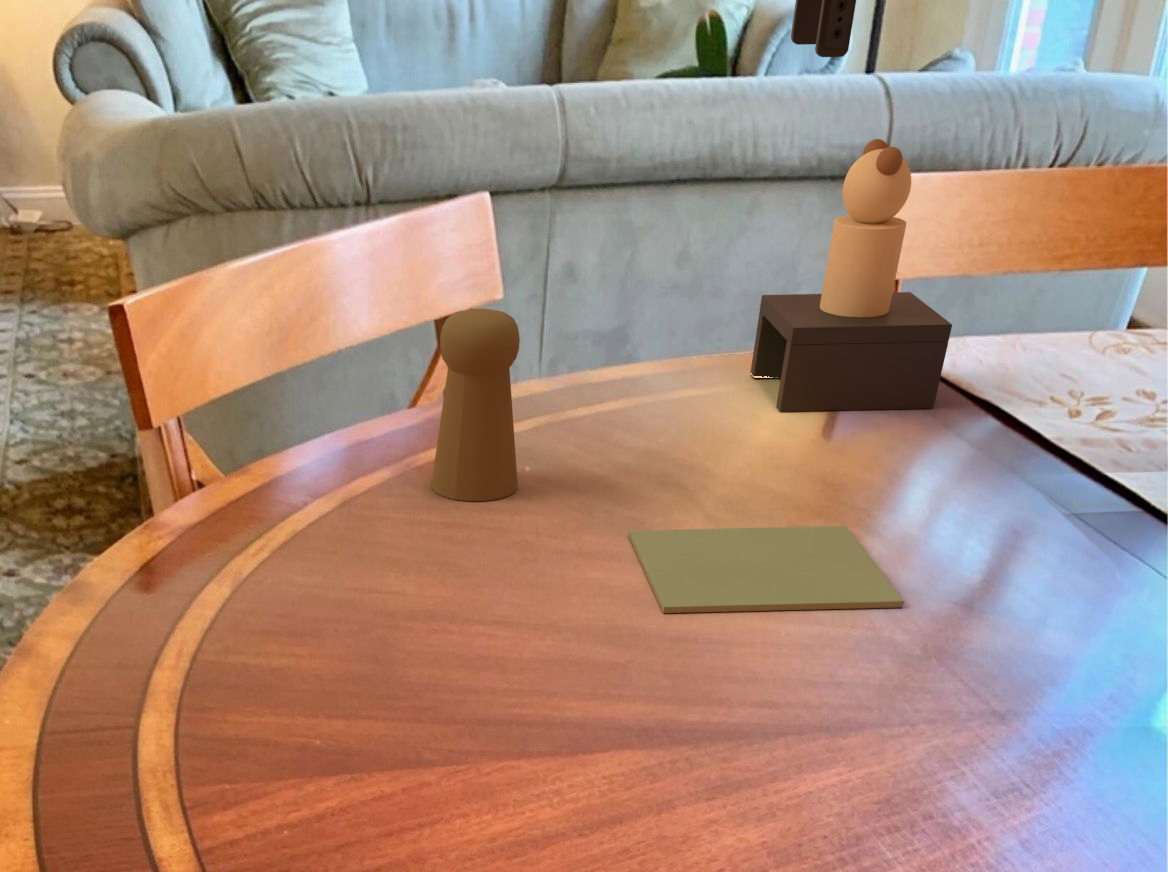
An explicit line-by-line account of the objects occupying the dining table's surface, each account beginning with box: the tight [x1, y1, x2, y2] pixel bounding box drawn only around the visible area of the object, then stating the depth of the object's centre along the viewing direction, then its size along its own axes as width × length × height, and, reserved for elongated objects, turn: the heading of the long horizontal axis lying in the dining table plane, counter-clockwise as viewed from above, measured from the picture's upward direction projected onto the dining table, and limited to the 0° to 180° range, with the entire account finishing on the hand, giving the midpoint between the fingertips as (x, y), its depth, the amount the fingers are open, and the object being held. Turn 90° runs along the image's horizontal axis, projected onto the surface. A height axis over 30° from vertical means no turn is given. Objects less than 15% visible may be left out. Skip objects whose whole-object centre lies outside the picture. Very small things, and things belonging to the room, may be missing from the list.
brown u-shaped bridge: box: [750, 291, 953, 413], centre depth 116 cm, size 12×10×6 cm
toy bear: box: [820, 138, 912, 318], centre depth 110 cm, size 5×5×11 cm
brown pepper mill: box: [430, 308, 521, 502], centre depth 98 cm, size 6×6×11 cm
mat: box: [628, 525, 905, 614], centre depth 90 cm, size 14×12×1 cm
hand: (817, 50), depth 108 cm, fingers open, 8 cm apart
